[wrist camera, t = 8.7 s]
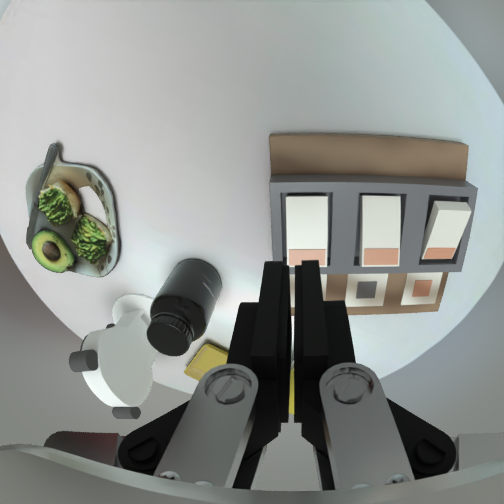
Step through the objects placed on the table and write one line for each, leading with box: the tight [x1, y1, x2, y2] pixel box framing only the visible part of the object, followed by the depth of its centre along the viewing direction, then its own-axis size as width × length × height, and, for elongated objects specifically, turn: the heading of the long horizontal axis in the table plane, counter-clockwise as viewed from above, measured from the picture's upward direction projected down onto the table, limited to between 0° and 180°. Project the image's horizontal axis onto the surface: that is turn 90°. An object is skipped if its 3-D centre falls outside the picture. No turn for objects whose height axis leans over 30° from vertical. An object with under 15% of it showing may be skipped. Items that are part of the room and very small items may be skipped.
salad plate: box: [26, 143, 120, 277], centre depth 38 cm, size 19×18×5 cm
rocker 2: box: [359, 196, 401, 267], centre depth 31 cm, size 7×4×2 cm, turn 4°
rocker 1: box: [286, 195, 328, 267], centre depth 32 cm, size 7×4×2 cm, turn 4°
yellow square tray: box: [184, 344, 228, 381], centre depth 49 cm, size 9×9×2 cm
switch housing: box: [269, 174, 478, 274], centre depth 32 cm, size 10×22×3 cm, turn 94°
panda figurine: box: [69, 294, 159, 419], centre depth 41 cm, size 12×11×15 cm
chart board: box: [269, 134, 469, 316], centre depth 35 cm, size 22×22×2 cm
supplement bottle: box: [146, 259, 221, 356], centre depth 37 cm, size 7×7×12 cm
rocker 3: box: [420, 201, 472, 259], centre depth 30 cm, size 7×4×2 cm, turn 4°
